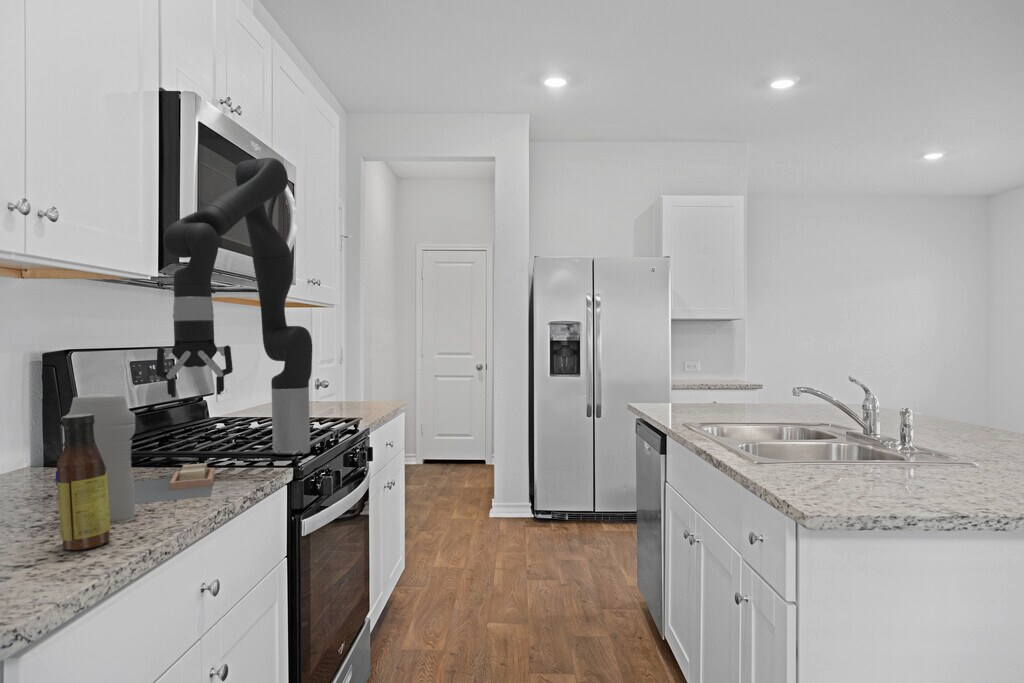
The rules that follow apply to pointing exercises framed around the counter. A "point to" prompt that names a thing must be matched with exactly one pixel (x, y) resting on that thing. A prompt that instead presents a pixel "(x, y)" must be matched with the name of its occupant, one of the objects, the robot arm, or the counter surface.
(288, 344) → the robot arm
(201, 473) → the beige rectangular prism
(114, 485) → the tall pale column
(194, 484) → the frame
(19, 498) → the counter surface
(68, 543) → the sauce bottle
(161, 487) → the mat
